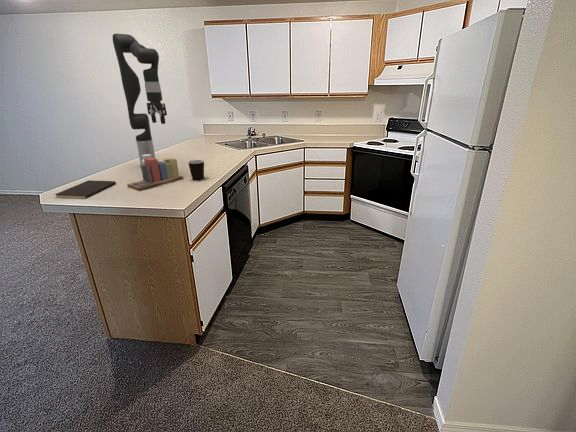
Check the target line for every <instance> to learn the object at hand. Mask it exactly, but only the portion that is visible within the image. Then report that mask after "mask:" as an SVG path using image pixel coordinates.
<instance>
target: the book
mask: <svg viewBox="0 0 576 432" xmlns="http://www.w3.org/2000/svg"><path fill="white" fill-rule="evenodd" d="M155 158H156V157H155ZM155 158H146V159H144V162H145V166H148V167H150V171H151V176H152V181H153V182H154V183H155V182H159V181H161V178H160V172H159V167H158V161H159V160H158V158H156V159H155Z"/></svg>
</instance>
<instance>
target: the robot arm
mask: <svg viewBox="0 0 576 432" xmlns="http://www.w3.org/2000/svg"><path fill="white" fill-rule="evenodd" d="M112 44H113V48H114V51H115V55H116V59H117V64H118V67H119V72H120V78H121V83H122V88H123V91H124V97H125V100H126V107H127V112H128V119H129V125H130V128H131V129H132V130H144V131H143V132H142V133H139V134H138V135H136V136H135V142H136V147H137V151H138V158H139V162H140V166H141V165H142V160H143V157H142V155H144V154H151V158H155V159H157V158H156V155H155V154H156V153H155V149H154V142H153V138H152V132H151V126H150V119H151V122H152V123H153V124H156V123H157V122H158V121H157V117H156V113H157V114H158V115H159V119H160V124H162V125H165V124H166V118H165V117H166V116H168V114H167V108H166V104H165V103H163V102H162V101H163V95H162V94H163V93H162V89H161V84H160V80H159V78H160V77H159V62H160V55H159V53H158V51H157V50H156V49H155V48H149V47H146V46H145V45H142V44H141V43H139V41H138V40H137V39H136V38H135V37H134V36H133V35H131V34H127V33H126V34H125V33H113V34H112ZM124 53H125V54H132V56H133V57H135V58H136V60H137V62H138V63H139V64H143V65H145V64H147V65H151V66H150V67H149V68H146V69H143V71H142V75H143V80H144V88H145V94H146V100H147V103H146V108H147V110H146V111H147V113H142V112H141V113H135V107H136V104H137V101H138V99H139V97H140V95H141V91H142V90H141V84H140V78H139V76H138V75H137V73H136V72H135V71H134V69H132V67H131V66H130V65H129V63H128V61H127V60H126V58H125V54H124ZM149 115H150V117H151V118H150V117H149ZM149 118H150V119H149Z"/></svg>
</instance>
